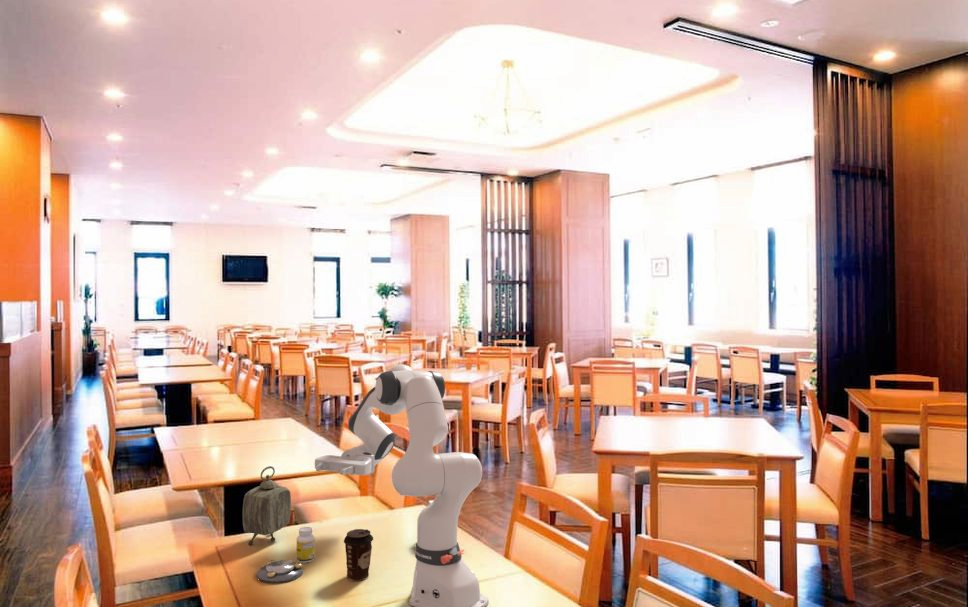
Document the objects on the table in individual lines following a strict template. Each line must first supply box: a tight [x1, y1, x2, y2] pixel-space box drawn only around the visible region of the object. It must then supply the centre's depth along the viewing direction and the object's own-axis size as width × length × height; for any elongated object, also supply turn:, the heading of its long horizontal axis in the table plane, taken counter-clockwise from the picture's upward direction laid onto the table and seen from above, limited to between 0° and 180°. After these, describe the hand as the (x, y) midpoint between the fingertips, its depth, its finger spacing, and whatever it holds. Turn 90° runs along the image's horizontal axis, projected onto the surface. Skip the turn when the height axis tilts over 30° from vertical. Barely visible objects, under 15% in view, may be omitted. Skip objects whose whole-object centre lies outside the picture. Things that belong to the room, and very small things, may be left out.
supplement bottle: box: [296, 526, 315, 564], centre depth 207 cm, size 5×5×10 cm
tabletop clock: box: [242, 466, 292, 546], centre depth 222 cm, size 14×9×25 cm, turn 160°
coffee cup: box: [343, 528, 374, 582], centre depth 195 cm, size 9×8×13 cm
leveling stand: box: [256, 559, 304, 584], centre depth 196 cm, size 13×13×3 cm
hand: (329, 470), depth 218 cm, fingers open, 8 cm apart
